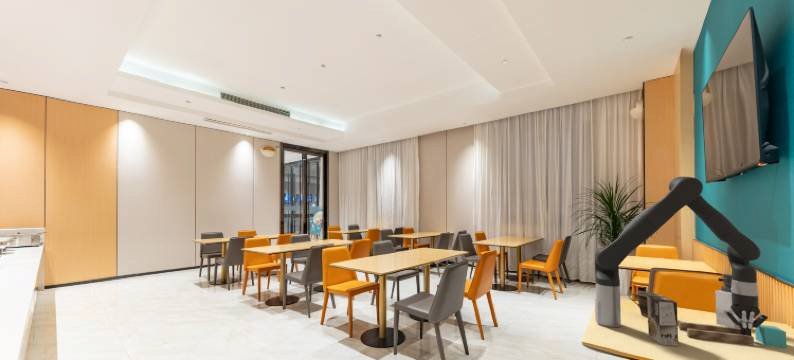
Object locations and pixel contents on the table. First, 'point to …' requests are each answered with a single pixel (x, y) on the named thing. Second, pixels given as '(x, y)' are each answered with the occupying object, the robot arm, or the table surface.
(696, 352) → the table surface
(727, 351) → the table surface
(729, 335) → the chute
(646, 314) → the ceramic cup
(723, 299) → the soap dispenser
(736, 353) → the table surface
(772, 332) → the block
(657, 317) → the coffee box
